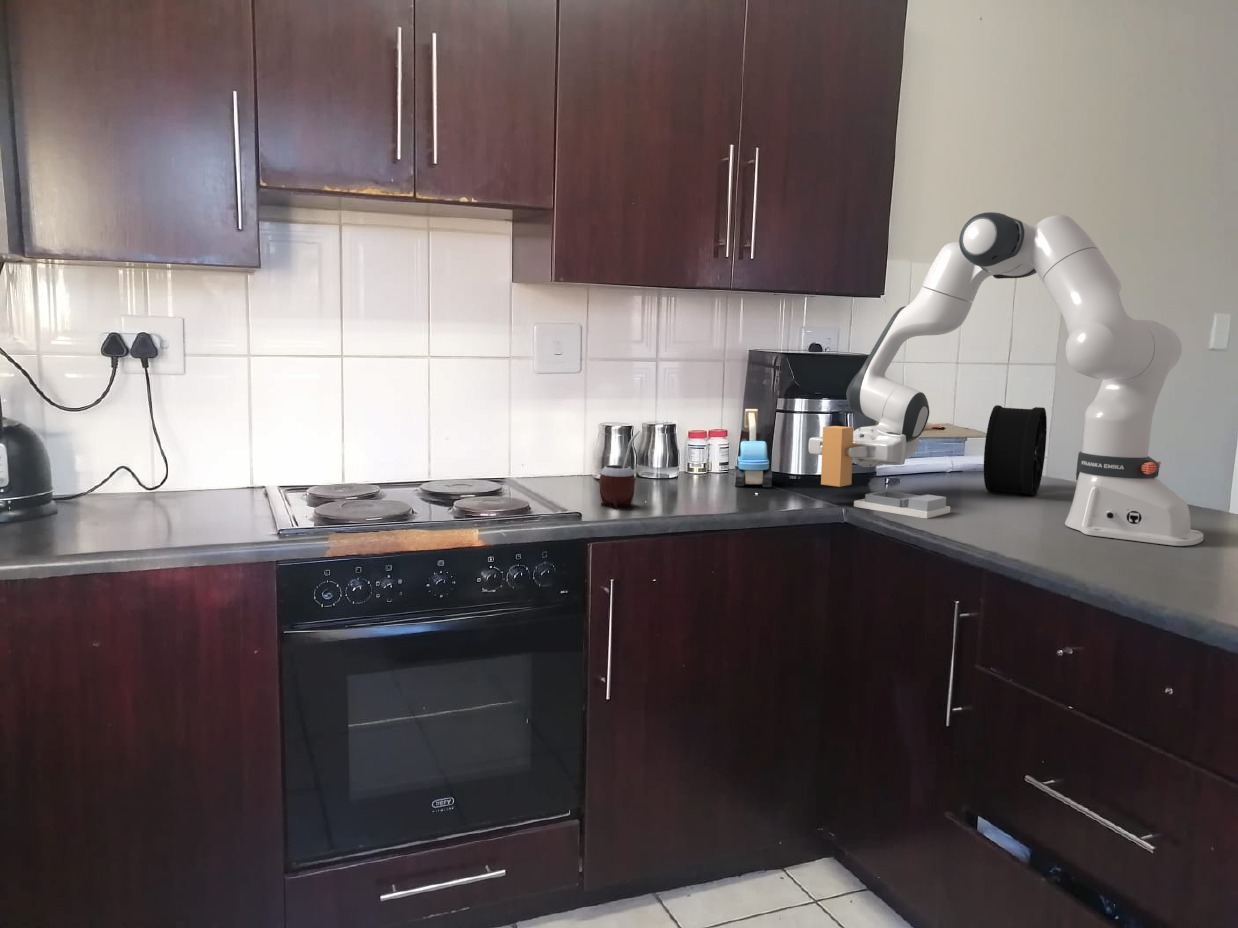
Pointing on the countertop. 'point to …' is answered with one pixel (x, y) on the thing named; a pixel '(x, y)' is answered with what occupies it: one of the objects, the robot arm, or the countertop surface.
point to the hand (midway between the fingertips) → (835, 451)
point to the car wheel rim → (1015, 449)
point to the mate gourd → (618, 483)
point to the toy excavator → (753, 457)
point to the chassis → (904, 504)
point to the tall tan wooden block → (836, 456)
